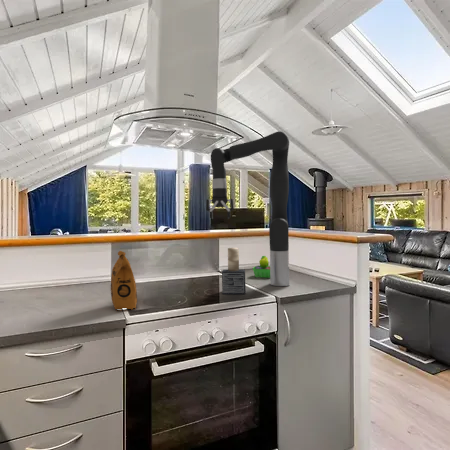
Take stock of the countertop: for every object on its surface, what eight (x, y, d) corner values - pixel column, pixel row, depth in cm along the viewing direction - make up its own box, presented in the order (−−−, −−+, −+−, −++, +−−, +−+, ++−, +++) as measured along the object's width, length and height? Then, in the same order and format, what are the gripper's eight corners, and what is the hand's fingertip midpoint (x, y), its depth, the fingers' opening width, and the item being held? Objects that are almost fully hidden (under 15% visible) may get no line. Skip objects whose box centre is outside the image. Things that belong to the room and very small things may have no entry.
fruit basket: (252, 277, 178) (252, 257, 177) (255, 274, 186) (255, 255, 186) (272, 278, 175) (272, 258, 174) (275, 275, 183) (275, 255, 182)
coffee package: (110, 312, 121) (108, 255, 120) (111, 303, 133) (109, 251, 132) (138, 309, 124) (136, 253, 123) (136, 301, 136) (134, 249, 135)
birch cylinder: (239, 269, 149) (238, 247, 148) (238, 271, 144) (238, 249, 143) (228, 269, 149) (228, 247, 148) (227, 271, 144) (227, 249, 143)
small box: (245, 291, 150) (245, 268, 149) (245, 294, 143) (245, 271, 142) (223, 290, 151) (223, 268, 150) (221, 294, 144) (221, 271, 143)
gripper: (205, 187, 164) (205, 219, 164) (232, 187, 162) (233, 219, 163) (207, 188, 171) (207, 218, 172) (233, 188, 170) (234, 218, 171)
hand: (220, 218), depth 168 cm, fingers open, 8 cm apart
